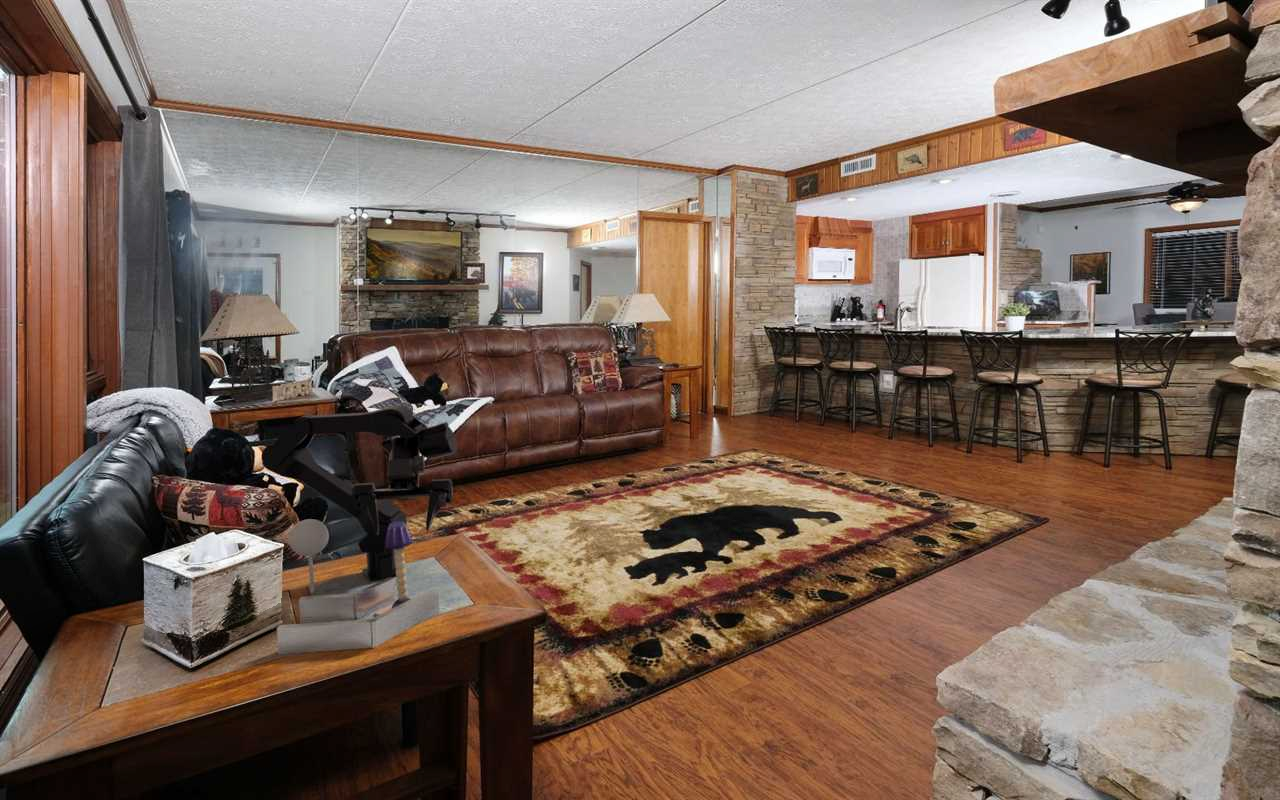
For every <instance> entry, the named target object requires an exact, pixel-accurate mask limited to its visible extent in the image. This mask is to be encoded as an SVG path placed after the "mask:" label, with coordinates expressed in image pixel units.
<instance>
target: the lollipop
mask: <svg viewBox="0 0 1280 800" xmlns="http://www.w3.org/2000/svg"><path fill="white" fill-rule="evenodd" d="M329 534H330V533H329V530H328V528H327V526H326V524H324V523H323V522H322V521H320V520H318V519H312V518H307V519H304V520H303V519H302V520H301V521H299V522H297V523H296V524H295V525H294V526H293V527H292V528H291V529H290V532H289V534H288V543H289V546H290V548H291V549H292V551H293V552H294V553H296V554H298V555H300V556H304V557H306V556H307V557H308V571H309V586H310V588H309V589H310V594H314V593H315V582H314V581H315V579H314V564H313V562H314V561H313V556H314V555H315V556H316V554H317V555H318V554H319V553H320V552H321V551H323V550H324V549H325V548H326V547H327V545H328V542H329V539H330V537H329V536H330V535H329Z"/></svg>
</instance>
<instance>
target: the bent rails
mask: <svg viewBox="0 0 1280 800" xmlns="http://www.w3.org/2000/svg"><path fill="white" fill-rule="evenodd" d="M396 593H397V592H396V578H395V577H394V576H391V577H386V578H384V579H381V581H378V582H376V583H373V584H371V585H369V586H367V587H365V588H362V589H360V590H358V591H356V592H354V593H342V594H327V595H324V594H323V595H310V596H309V595H308V596H300V597H299V599H298V605H299V606H298V607H299V618H300V621H299V622H300V623H294V624H293V623H290V624H279V625H278V626H277V627H276V633H277V634H276V635H277V638H276V639H277V651H278V655H286V654H287V655H288V654H301V653H316V652H331V651H343V650H346V651H347V650H356V649H371V648H372V649H374V648H378V646H380V645H382V644H383V643H385V642H387V641H389V640H390V639H393V638H395V637H396V636H398V635H400V634H401V633H403V632H405V631H407V630H409V629H411V628H413V627H415V626H417V625H419V624H420V623H422V622H424V621H425V620H428V619H429V618H431V617H433V616H435V615H437V614H439V613H440V602H439V601H440V600H439V598H440V597H439V589H438V588H435V587H433V588H431V589H429V590H426V591H424V592H422V593H421V594H419V595H417V596H415V597H413V598H410V600H408V601H406V602H404V603H402V604H400V605H398V606H396V607H394V608H392V609H390V610H388V611H386V612H384V613H382V614H380V615H378V616H376V615H375V616H374V617H373V618H367V619H365V618H364V619H360V618H361V617H364V616H366V615H368V614H370V613H372V612H374V611H376V610H379V609H381V608H382V607H383V608H384V606H387V605H389V604H392V603H393V602H395V601H396V600H397V598H396V597H397V596H396V595H397V594H396Z"/></svg>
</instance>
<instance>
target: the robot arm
mask: <svg viewBox="0 0 1280 800" xmlns="http://www.w3.org/2000/svg"><path fill="white" fill-rule="evenodd" d="M346 433H349V434H350V433H367V434H372V435H375V436H385V437H388V438H386V440H384V441H382V442H381V443H380V446H381V447H382V448H383V449H384V450H385V451H386V452H387V453H388V454H390V459H389V460H387V471H386V472H387V475H386V476H387V477H386V478H387V479H386V483H387V486H388V488H377V489H376V485H375V483H374V482H366V483H365V482H363V483H355V484H354V485H353V486H351V485H349V484H348V483H347V482H345V481H344V480H342V479H341V478H339V477H338V476H336V475H335V474H334V473H331V472H330V471H329V470H327V469H326V468H324V467H323V466H321V465H319V464H318V463H317V462H316V461H315V458H314V456H312V454H311V451H309V450H308V449H307V448H308V447H309V445H310V444H311V442H312V441H313V440H314V439H313V438H314V437H315V436H316V435H327V434H329V435H330V434H346ZM457 452H458V441H457V437H456V434H454V431H453V430H452V429H451V427H449V424H448V421H445V422H441V423H439V424H436V425H433V426H429V427H428V426H427V425H426V424H424V422H422V421H421V420H419V419H418V418H417V417H416V416H414V414H413V411H412V410H411V409H410V408H409V407H408V406H406V405H404V404H398V405H393V406H389V407H384V408H380V409H377V410H371V411H367V412H354V413H353V412H350V413H335V414H333V413H332V414H312V413H310V414H305V415H303V416H300V417H297V418H296V419H295V421H294V423H292V425H291V426H290V427H289V428H288V429H287V430H286V431H284V432H283V433H282V435H280V436H279V437H278V438H277V439H276V440H275V441H274V442H273V443H272V444H269V445H267V446H266V447H264V449H263V450H262V452H261V464H262V466H263V467H264V468H265V469H266V470H267V471H270V472H272V473H274V474H276V475H279V476H280V477H284V478H288V479H291V480H292V479H293V480H297V481H299V482H301V483H303V484H304V485H306V486H307V487H309V488H310V489H312V490H313V491H314V492H316V493H318V494H319V495H321V496H322V497H324V498H325V499H327V500H328V501H329V502H331V503H333V505H335V506H337V507H338V508H340V509H341V510H343V511H345V512H346V513H348V514H349V515H350V516H352V517H353V518H355V519H356V520H357V522H358V524H359V525H360V527H361V529H362V531H363V532H364V533H365V534H366V535H365V536H364V537H363V538H362V539H361V540H359V542H358V546H359V549H360V552H361V553H365V555H366V568H363V569H362V573H363V575H364V576H365V577H366V578H367V579H368V580H369V581H370V582H373V581H376V580H380V579H381V580H383V579H387V578H389V577H394V576H396V567H395V562H396V560H395V552H394V549H389V548H387V547H386V546H385V540H386V534H387V529H388V526H389V524H391V523H393V522H404V523H405V524H406V527H408V520H407V515H406V513H405V512H404V511H402V509H403V507H402V506H399V505H397V504H395V503H393V502H392V501H391V499H392V500H393V499H409V498H410V499H411V498H423V497H429V498H428V506H427V514H426V521H425V529H426V532H429V531H430V529H431V527H432V525H433V523H434V520H435V518H436V516H437V514H438V513H439V511H440V510H441V509H442V508H445V507H446V506H447V504H451V503H453V501H454V498H453V497H454V493H453V491H454V490H453V481H452V480H451V479H450V478H438V479H437V478H436V479H431V480H430V481H431V485H430V486H420V474H422V473H425V472H426V471H425V469H426V467H425V465H426V464H425V458H426V459H427V460H430V461H431V460H434V459H438V458H443V457H446V456H447V457H448V456H450V455H451V456H452V455H454V454H457ZM378 500H381V501H378Z"/></svg>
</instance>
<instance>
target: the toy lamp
mask: <svg viewBox="0 0 1280 800" xmlns="http://www.w3.org/2000/svg"><path fill="white" fill-rule="evenodd" d="M407 527H408V526H406V524H405V523H404V522H393V523H391V524H389V526H388V529H387V534H386V540H385V546H386V547H387V548H389V549H394V552H395V567H396V575H395V576H396V578H395V583H396V585H397V587H396V588H397V589H396V590H397V592H398V593H397V598H398V599H396V600H395V601H393V602H394V603H393V602H392V604H393V605H392V604H391V605H392V608H394V607H396V606H398V605H400V604H402V603H404V602H406V601H408V600H410V599H411V598H409V597H408V596H409V595H408V594H409V593H408V585H407V576H406V575H407V571H406V562H405V558H406V557H405V553H404V551H405V548H406V547H408V546H410V545H411V544H412V538H411V534H410V533H409V532H410V531H409V530H408V528H407Z"/></svg>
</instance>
